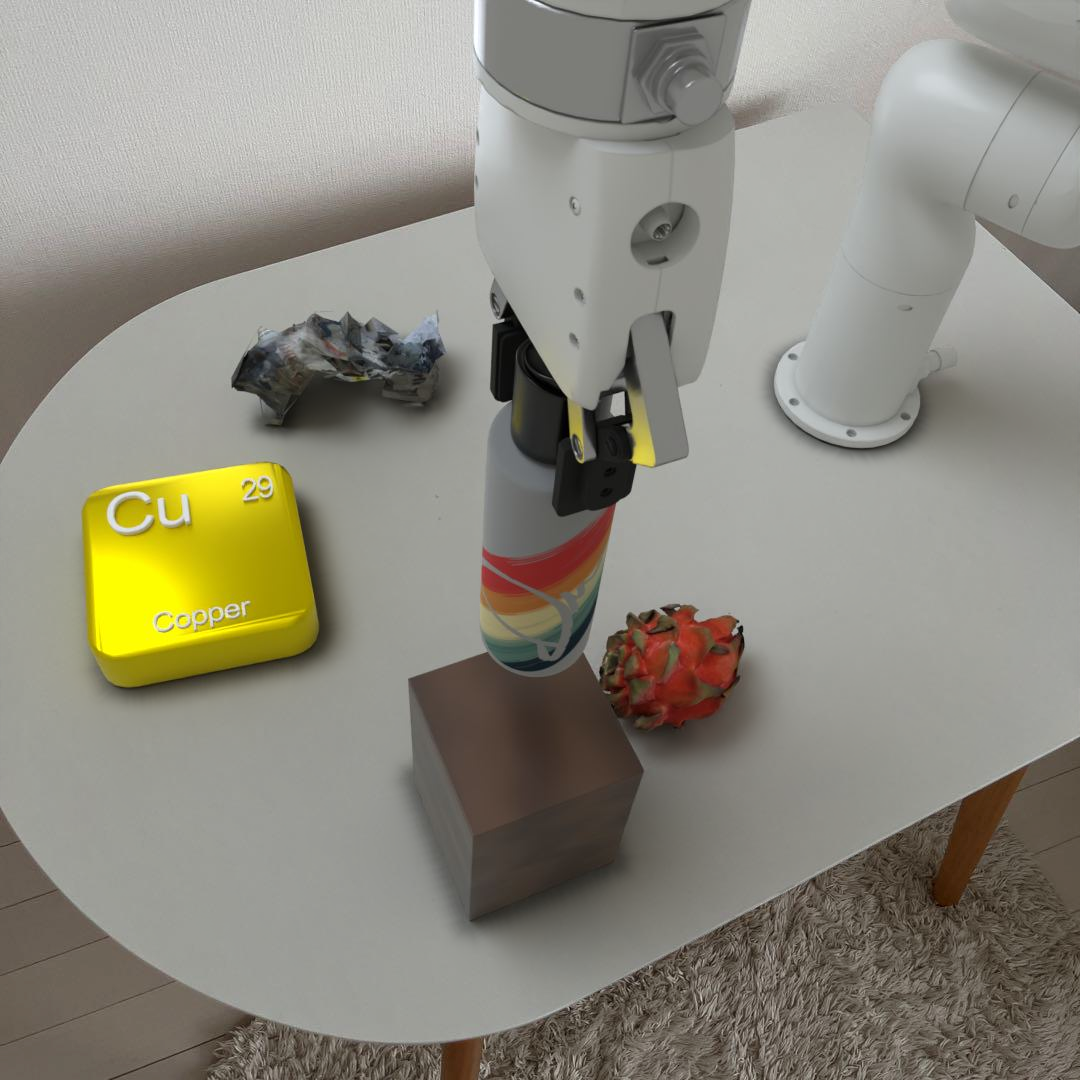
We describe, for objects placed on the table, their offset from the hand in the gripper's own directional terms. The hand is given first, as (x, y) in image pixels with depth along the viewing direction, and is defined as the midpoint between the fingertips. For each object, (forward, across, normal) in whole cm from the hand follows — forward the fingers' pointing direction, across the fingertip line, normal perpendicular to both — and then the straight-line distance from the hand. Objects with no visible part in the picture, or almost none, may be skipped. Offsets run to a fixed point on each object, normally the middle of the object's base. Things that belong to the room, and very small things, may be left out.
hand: (558, 441), depth 45 cm
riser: (+36, -2, +1) cm, 36 cm away
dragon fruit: (+36, +3, -13) cm, 38 cm away
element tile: (+36, +23, +15) cm, 45 cm away
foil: (+36, +39, -1) cm, 53 cm away
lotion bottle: (+15, 0, 0) cm, 15 cm away
